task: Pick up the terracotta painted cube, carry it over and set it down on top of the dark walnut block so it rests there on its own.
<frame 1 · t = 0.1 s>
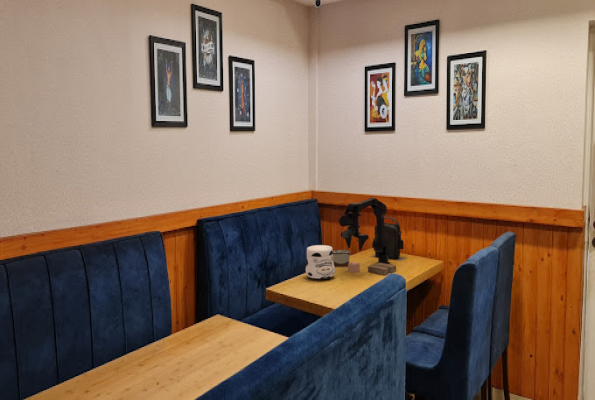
hand: (354, 249, 283), 14 cm above the table, tool pointing down, fingers open, 9 cm apart
shoulder bag: (388, 257, 319), on the table
food container: (341, 266, 301), on the table
terracotta cube: (353, 271, 288), on the table
milk container: (320, 277, 277), on the table
walnut block: (382, 272, 285), on the table
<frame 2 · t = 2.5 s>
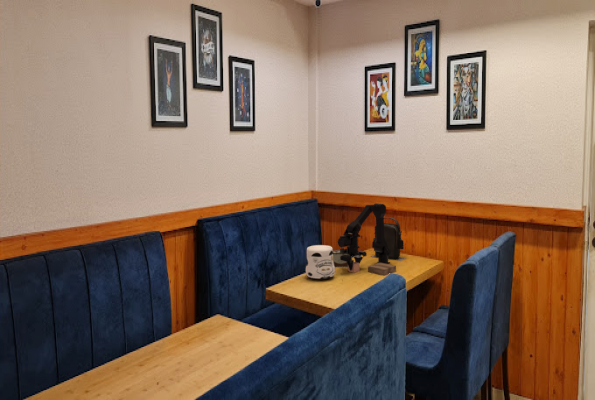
hand: (353, 269, 288), 1 cm above the table, tool pointing down, fingers closed on terracotta cube, 5 cm apart
terracotta cube: (353, 271, 288), on the table, touching gripper
everything else where it was.
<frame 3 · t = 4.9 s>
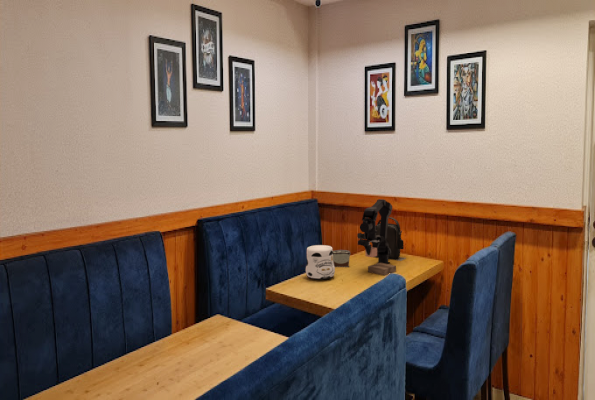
hand: (371, 254, 285), 11 cm above the table, tool pointing down, fingers closed on terracotta cube, 5 cm apart
terracotta cube: (371, 255, 285), point 10 cm above the table, touching gripper
everything else where it was.
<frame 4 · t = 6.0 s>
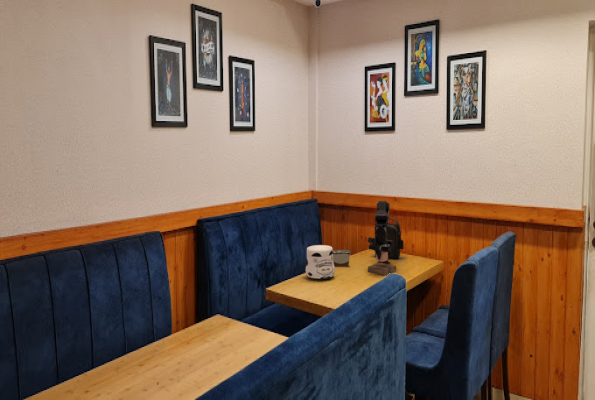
hand: (381, 258, 284), 8 cm above the table, tool pointing down, fingers closed on terracotta cube, 5 cm apart
terracotta cube: (381, 260, 284), point 7 cm above the table, touching gripper
everything else where it was.
when the fingers open (6 cm above the table, at t = 7.1 s): terracotta cube drops 2 cm, point 4 cm above the table.
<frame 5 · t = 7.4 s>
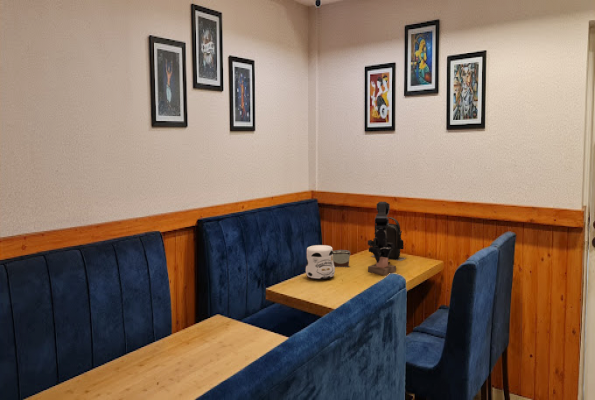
hand: (381, 261, 284), 6 cm above the table, tool pointing down, fingers open, 8 cm apart
terracotta cube: (382, 266, 284), point 4 cm above the table
everything else where it was.
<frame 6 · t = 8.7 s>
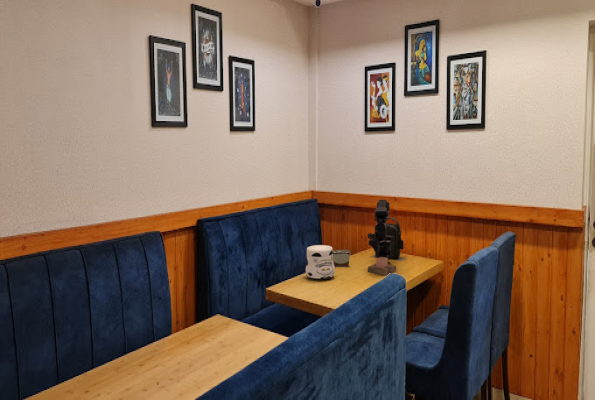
hand: (381, 254, 283), 11 cm above the table, tool pointing down, fingers open, 9 cm apart
nothing on the table moved.
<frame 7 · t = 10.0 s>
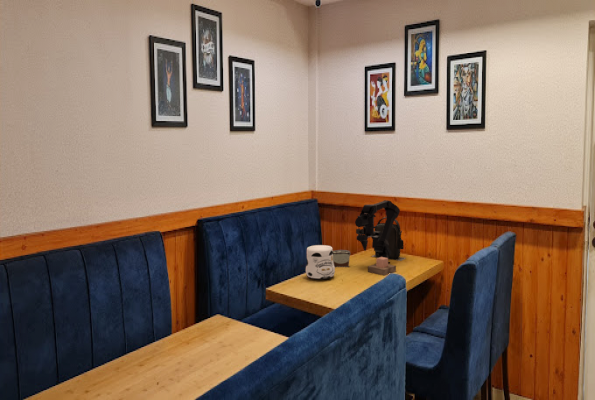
hand: (369, 249, 293), 12 cm above the table, tool pointing down, fingers open, 9 cm apart
terracotta cube: (382, 266, 284), point 4 cm above the table, touching walnut block
walnut block: (381, 272, 285), on the table, touching terracotta cube
everything else where it was.
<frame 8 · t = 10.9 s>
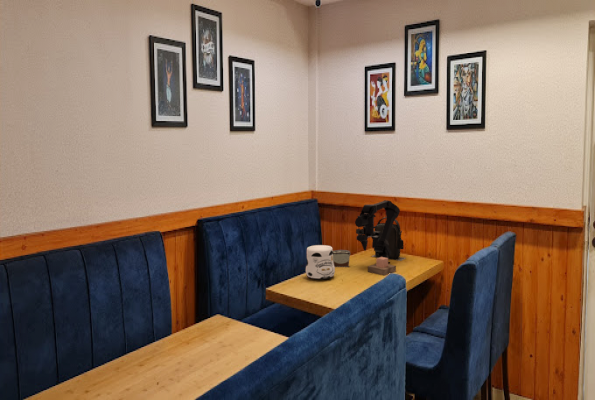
hand: (369, 249, 293), 12 cm above the table, tool pointing down, fingers open, 9 cm apart
nothing on the table moved.
at the end: terracotta cube inside the target area on the walnut block (0.6 cm from its centre), point 4.1 cm above the walnut block's base; terracotta cube touching nothing; terracotta cube tilted 1° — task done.
